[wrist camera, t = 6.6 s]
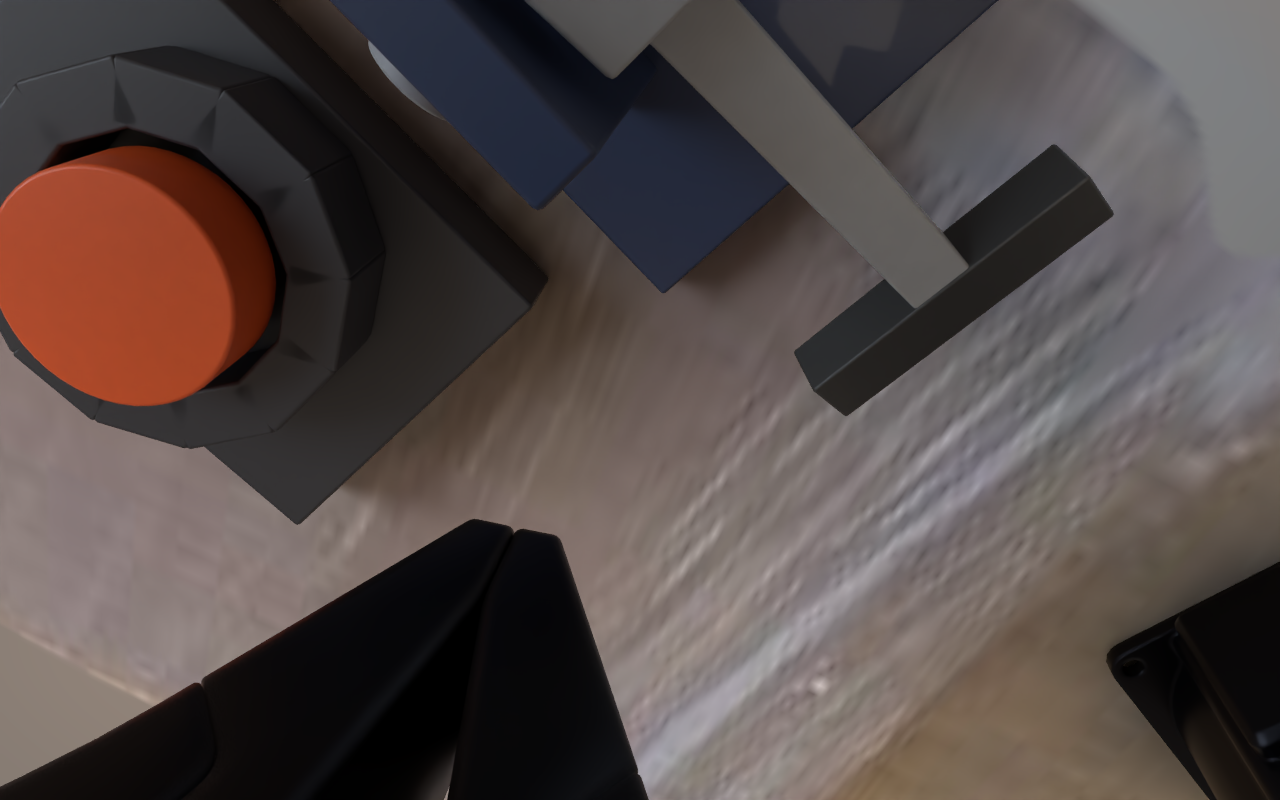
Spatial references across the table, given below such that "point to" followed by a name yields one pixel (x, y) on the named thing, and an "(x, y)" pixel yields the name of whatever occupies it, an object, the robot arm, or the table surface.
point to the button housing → (273, 225)
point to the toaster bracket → (638, 107)
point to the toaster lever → (849, 188)
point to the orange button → (134, 274)
